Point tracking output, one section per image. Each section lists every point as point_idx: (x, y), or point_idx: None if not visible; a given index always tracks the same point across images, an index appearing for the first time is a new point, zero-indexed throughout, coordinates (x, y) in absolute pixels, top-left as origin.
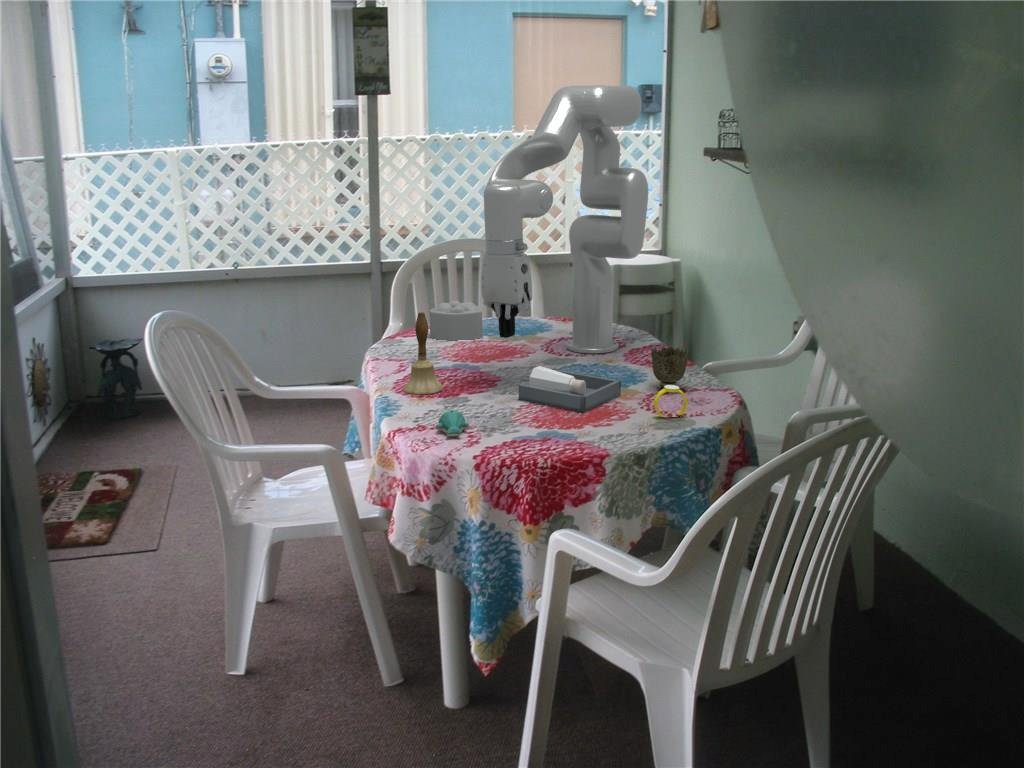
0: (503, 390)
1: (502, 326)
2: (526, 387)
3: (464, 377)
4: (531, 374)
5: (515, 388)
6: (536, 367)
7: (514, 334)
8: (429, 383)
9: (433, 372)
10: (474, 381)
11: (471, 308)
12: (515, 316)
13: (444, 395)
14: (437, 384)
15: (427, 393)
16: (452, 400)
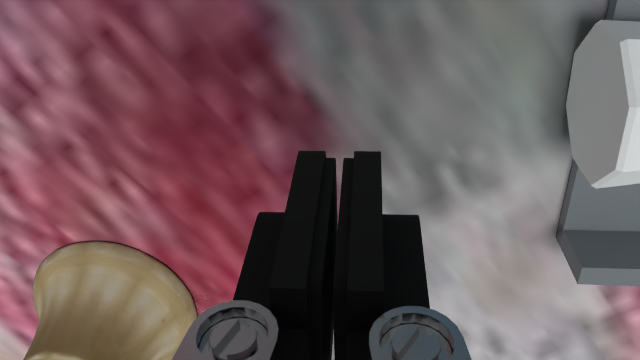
0: (407, 159)
1: (331, 344)
2: (628, 283)
3: (82, 82)
4: (606, 184)
5: (442, 99)
6: (632, 148)
7: (380, 153)
8: (160, 354)
9: (129, 356)
10: (180, 112)
11: None
12: (440, 337)
13: None
14: (167, 316)
15: None
16: None
